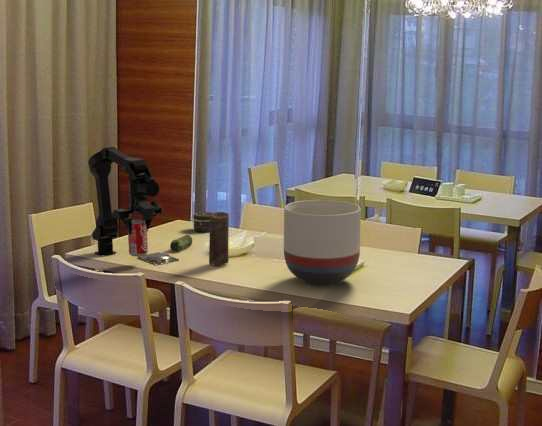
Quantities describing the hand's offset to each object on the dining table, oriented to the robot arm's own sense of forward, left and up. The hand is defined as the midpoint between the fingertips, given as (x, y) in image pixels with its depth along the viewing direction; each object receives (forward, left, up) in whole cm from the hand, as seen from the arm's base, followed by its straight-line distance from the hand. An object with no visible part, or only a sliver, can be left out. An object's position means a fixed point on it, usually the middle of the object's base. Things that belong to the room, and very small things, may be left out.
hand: (138, 233), depth 311 cm
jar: (-30, +53, -13) cm, 62 cm away
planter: (+60, +37, -13) cm, 72 cm away
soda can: (0, 0, -8) cm, 8 cm away
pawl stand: (-3, +10, -12) cm, 16 cm away
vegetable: (-10, +27, -13) cm, 32 cm away
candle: (+19, +23, -13) cm, 33 cm away
